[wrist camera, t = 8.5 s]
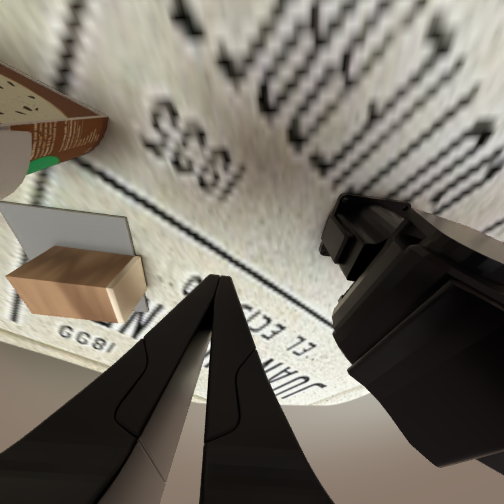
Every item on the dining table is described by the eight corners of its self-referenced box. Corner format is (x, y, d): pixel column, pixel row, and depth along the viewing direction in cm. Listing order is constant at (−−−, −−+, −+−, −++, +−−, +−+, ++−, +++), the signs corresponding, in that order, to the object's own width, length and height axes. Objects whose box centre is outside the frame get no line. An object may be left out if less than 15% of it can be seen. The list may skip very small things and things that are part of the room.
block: (112, 288, 18) (5, 276, 17) (124, 323, 20) (32, 313, 20) (140, 256, 22) (54, 245, 21) (146, 289, 25) (71, 280, 24)
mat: (126, 217, 20) (124, 218, 19) (148, 310, 27) (147, 312, 27) (-3, 200, 19) (-6, 202, 19) (58, 301, 27) (56, 303, 26)
